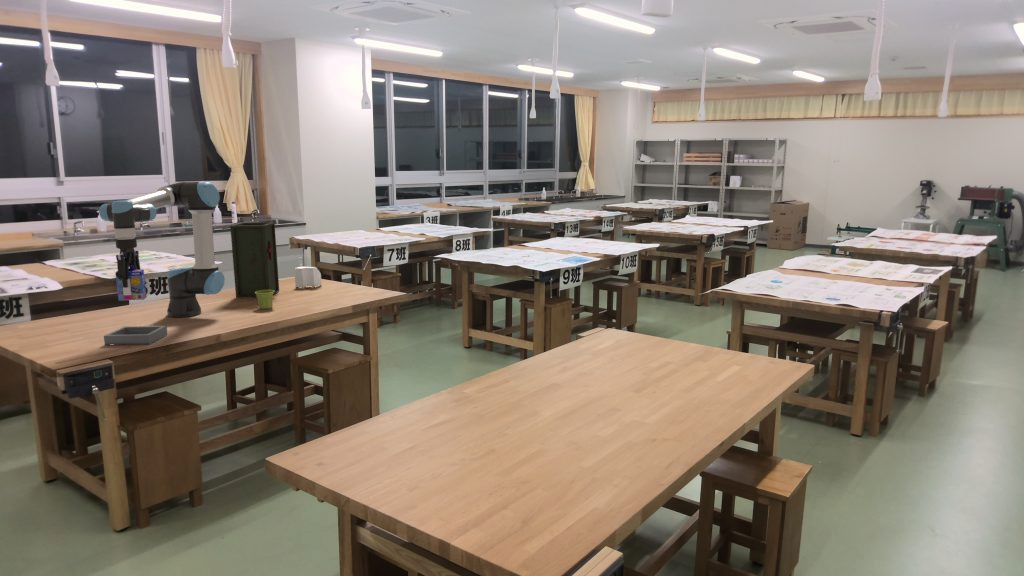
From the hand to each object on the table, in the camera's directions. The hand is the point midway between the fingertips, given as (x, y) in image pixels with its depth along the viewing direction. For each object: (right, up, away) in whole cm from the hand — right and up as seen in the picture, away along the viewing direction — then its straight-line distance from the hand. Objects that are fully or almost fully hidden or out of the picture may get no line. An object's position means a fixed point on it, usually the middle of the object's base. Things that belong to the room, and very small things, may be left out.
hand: (131, 293), depth 279 cm
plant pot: (+32, -8, +65) cm, 73 cm away
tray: (0, -20, +4) cm, 20 cm away
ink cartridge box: (0, -3, 0) cm, 3 cm away
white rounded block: (+36, +3, +125) cm, 130 cm away
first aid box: (+14, -2, +102) cm, 103 cm away
